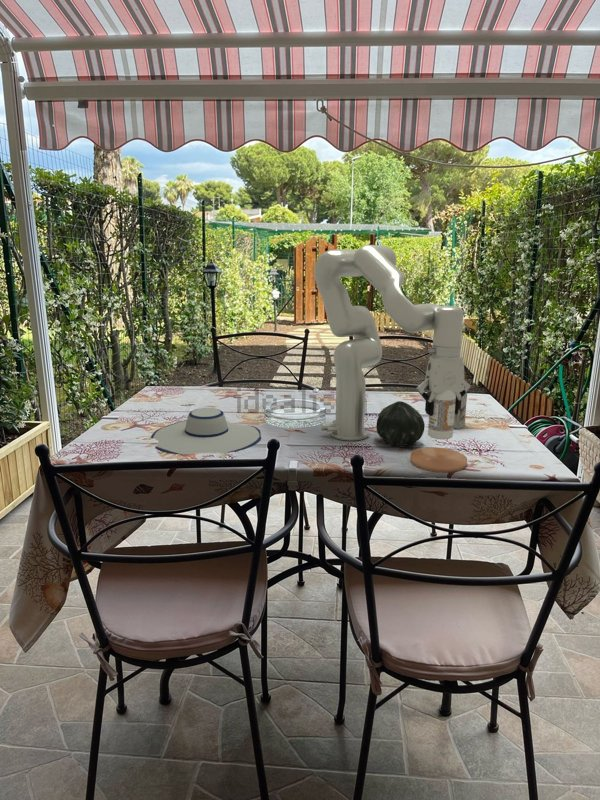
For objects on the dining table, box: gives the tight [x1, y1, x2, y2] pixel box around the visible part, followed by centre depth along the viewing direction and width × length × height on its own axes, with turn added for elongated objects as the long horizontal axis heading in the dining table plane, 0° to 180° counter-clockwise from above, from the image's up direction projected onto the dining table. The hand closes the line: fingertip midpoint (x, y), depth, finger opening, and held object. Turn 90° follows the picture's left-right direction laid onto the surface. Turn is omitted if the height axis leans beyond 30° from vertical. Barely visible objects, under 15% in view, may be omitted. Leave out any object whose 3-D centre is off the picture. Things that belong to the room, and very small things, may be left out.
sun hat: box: [150, 407, 262, 455], centre depth 181 cm, size 36×36×9 cm
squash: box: [375, 400, 426, 448], centre depth 175 cm, size 14×15×15 cm
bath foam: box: [427, 390, 456, 440], centre depth 156 cm, size 7×7×20 cm
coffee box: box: [453, 379, 469, 430], centre depth 192 cm, size 9×6×16 cm
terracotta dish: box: [409, 446, 468, 473], centre depth 160 cm, size 16×16×2 cm
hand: (441, 413), depth 157 cm, fingers closed on bath foam, 7 cm apart
